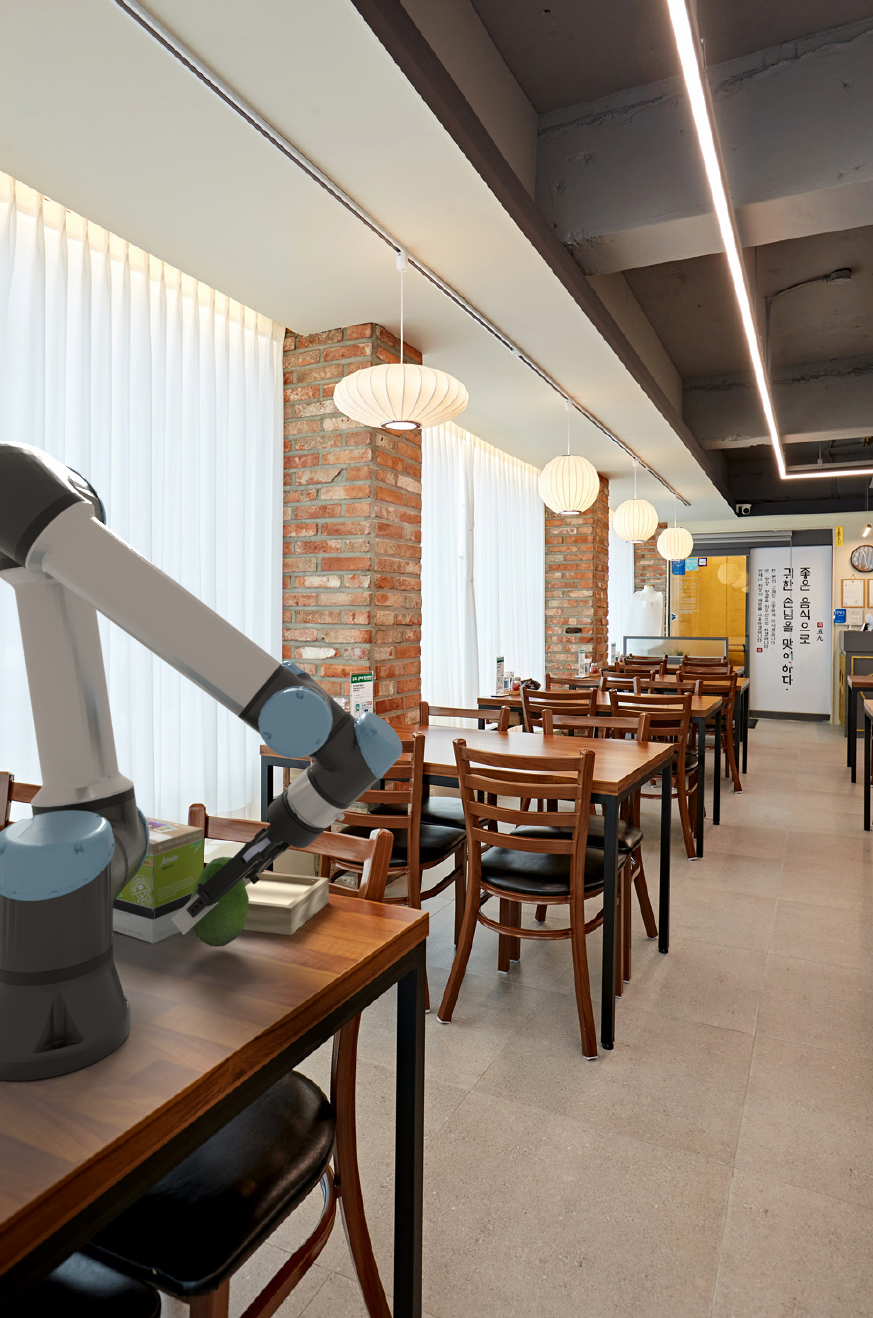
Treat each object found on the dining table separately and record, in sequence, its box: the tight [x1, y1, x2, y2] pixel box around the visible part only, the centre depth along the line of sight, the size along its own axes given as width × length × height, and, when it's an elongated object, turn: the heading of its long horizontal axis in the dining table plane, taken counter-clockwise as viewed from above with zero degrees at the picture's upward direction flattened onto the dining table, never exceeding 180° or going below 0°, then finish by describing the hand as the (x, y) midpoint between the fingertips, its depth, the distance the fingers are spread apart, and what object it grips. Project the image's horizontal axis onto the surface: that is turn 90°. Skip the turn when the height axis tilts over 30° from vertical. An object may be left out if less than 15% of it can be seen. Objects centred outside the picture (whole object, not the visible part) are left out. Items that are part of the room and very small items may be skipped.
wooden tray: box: [243, 871, 330, 936], centre depth 119 cm, size 14×14×4 cm
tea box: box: [113, 816, 205, 945], centre depth 114 cm, size 15×10×15 cm
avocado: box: [190, 856, 249, 948], centre depth 104 cm, size 8×8×12 cm
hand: (196, 914), depth 105 cm, fingers closed on avocado, 8 cm apart
